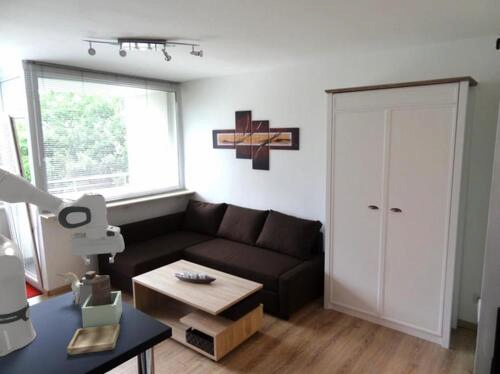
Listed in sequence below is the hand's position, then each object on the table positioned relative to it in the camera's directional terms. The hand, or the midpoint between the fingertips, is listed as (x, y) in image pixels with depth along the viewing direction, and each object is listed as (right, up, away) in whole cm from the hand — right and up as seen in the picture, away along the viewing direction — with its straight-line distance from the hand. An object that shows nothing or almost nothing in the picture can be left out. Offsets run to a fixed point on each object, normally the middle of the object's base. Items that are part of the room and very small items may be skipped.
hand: (99, 263), depth 141 cm
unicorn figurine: (-22, -24, +19) cm, 38 cm away
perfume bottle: (-9, -25, +13) cm, 29 cm away
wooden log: (0, -26, +4) cm, 26 cm away
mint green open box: (0, -26, +4) cm, 26 cm away
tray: (+3, -28, -11) cm, 30 cm away
